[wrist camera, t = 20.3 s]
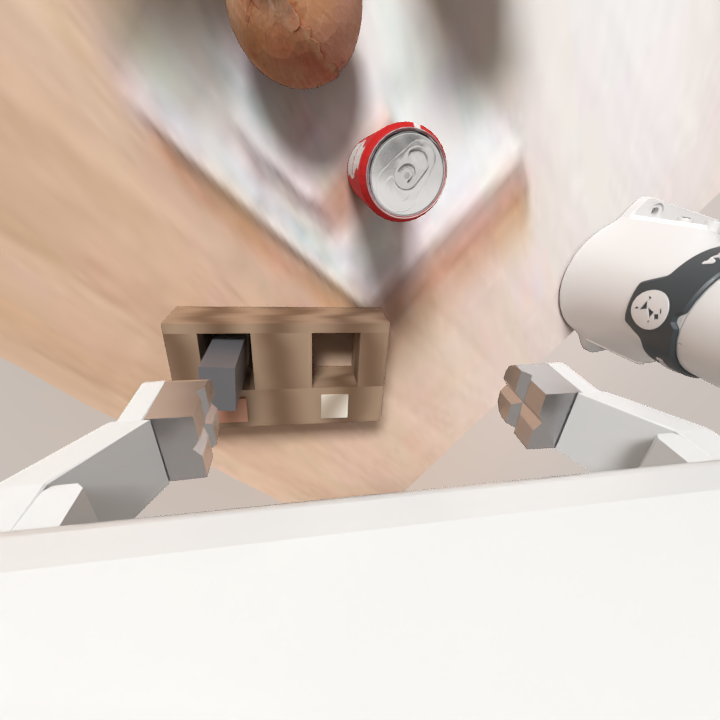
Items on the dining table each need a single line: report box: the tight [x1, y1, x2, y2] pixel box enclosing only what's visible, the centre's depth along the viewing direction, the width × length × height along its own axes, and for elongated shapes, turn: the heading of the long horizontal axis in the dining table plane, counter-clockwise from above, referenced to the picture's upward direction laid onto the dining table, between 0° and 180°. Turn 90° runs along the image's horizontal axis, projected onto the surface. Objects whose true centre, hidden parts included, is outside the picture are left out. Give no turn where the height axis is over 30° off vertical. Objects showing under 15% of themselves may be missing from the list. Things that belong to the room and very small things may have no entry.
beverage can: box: [347, 122, 447, 222], centre depth 29 cm, size 6×6×15 cm
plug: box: [198, 333, 249, 411], centre depth 37 cm, size 3×4×10 cm, turn 173°
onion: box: [226, 0, 362, 89], centre depth 26 cm, size 10×9×10 cm
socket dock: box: [161, 307, 390, 428], centre depth 40 cm, size 22×12×5 cm, turn 87°
